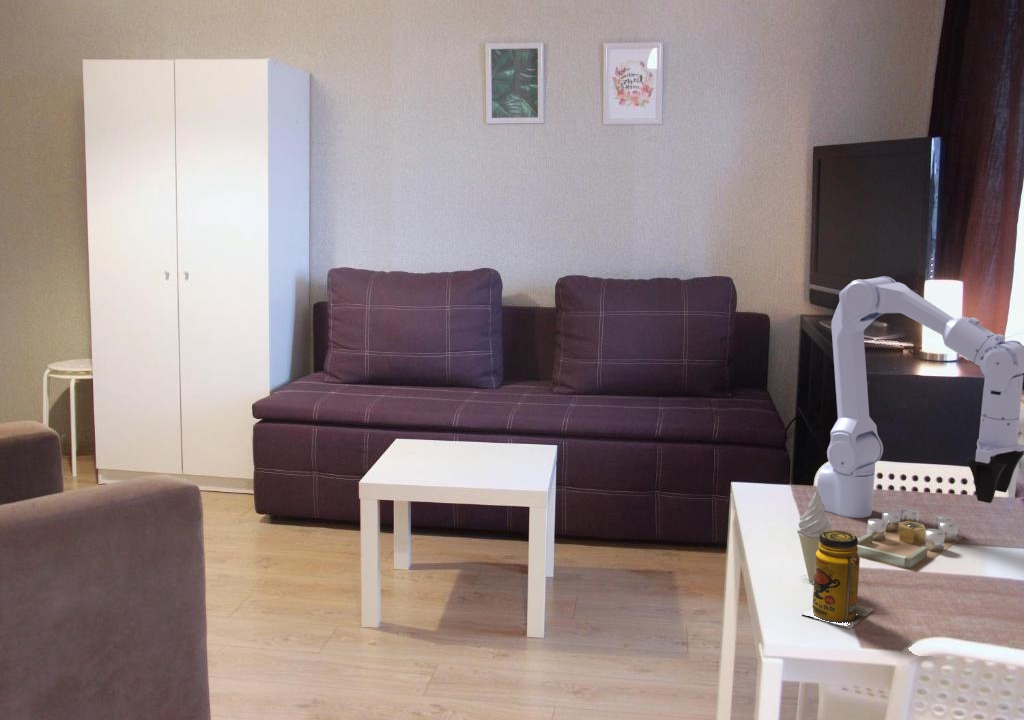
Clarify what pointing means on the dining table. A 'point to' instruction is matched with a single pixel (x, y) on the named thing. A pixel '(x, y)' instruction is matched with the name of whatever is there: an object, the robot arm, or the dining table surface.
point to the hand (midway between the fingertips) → (992, 496)
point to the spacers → (933, 537)
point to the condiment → (837, 579)
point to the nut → (911, 532)
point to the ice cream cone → (812, 532)
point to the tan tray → (897, 551)
